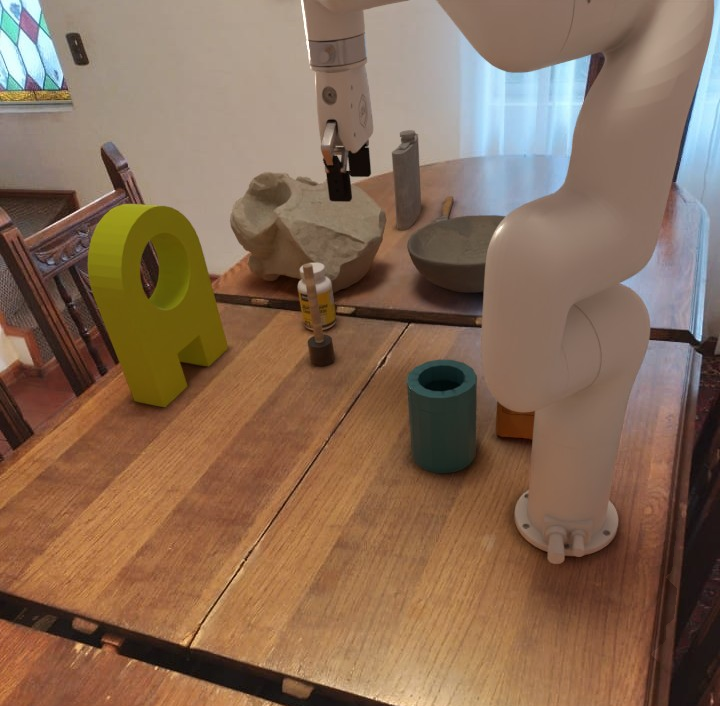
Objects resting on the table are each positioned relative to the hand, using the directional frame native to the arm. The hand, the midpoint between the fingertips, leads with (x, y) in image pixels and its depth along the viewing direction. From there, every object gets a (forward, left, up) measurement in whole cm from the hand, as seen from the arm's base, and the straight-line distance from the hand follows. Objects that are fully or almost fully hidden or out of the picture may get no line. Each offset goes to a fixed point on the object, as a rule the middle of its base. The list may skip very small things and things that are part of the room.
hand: (351, 188), depth 98 cm
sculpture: (+38, +20, -31) cm, 53 cm away
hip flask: (+70, +5, -31) cm, 76 cm away
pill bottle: (+16, +14, -31) cm, 37 cm away
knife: (+65, -4, -31) cm, 72 cm away
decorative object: (-3, +35, -31) cm, 47 cm away
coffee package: (-12, -27, -31) cm, 43 cm away
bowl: (+34, -14, -31) cm, 48 cm away
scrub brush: (+3, +10, -31) cm, 33 cm away
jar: (-21, -15, -31) cm, 41 cm away
